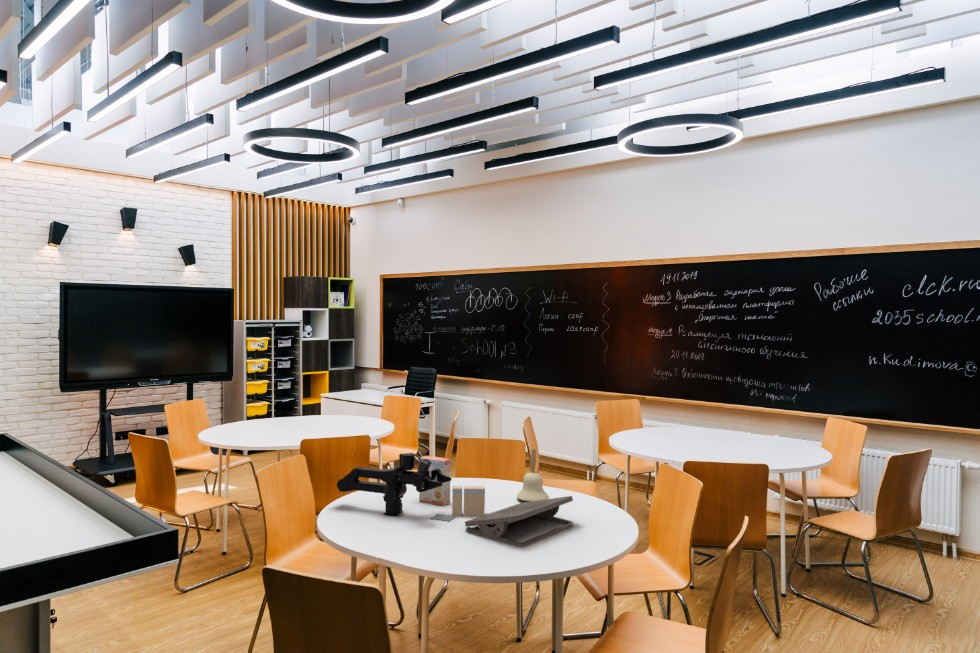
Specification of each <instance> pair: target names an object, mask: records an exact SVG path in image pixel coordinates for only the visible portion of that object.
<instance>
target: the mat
mask: <svg viewBox="0 0 980 653" xmlns="http://www.w3.org/2000/svg"><path fill="white" fill-rule="evenodd" d="M455 518H457V516H452V514H451V515H449V514H444V513H436V514H434V515H433V516H431V517H430V518H429V520H433V519H436V520H435V521H440V520H441V521H443V522H449V523H450V522H451V521H452V520H454V519H455Z"/></svg>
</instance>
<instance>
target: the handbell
mask: <svg viewBox="0 0 980 653" xmlns="http://www.w3.org/2000/svg"><path fill="white" fill-rule="evenodd" d="M536 453H537V452H536V448H535V447H532V448H531V450H530V470H531V471H530V472H527V473H526V474H525V475H524V476H523V479H522V484H523V485H522V489H521V490H520V491H519V492H518V493H517V494H516V498H517V499H519V500H521V501H523V502H524V501H525V502H531V501H538V500H546V499H550V498H549V494H548V493H547V492H546V491H545V490H544V487H543V477H542V475H541V474H540V473H538V472H535V470H536V465H537V455H536Z"/></svg>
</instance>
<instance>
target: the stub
mask: <svg viewBox="0 0 980 653" xmlns="http://www.w3.org/2000/svg"><path fill="white" fill-rule="evenodd" d="M451 492H452V508H451V509H452V510H451V511H452V512H451V516H456V517H462V514H463V513H462V512H463V485H453V486H452V491H451Z"/></svg>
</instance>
